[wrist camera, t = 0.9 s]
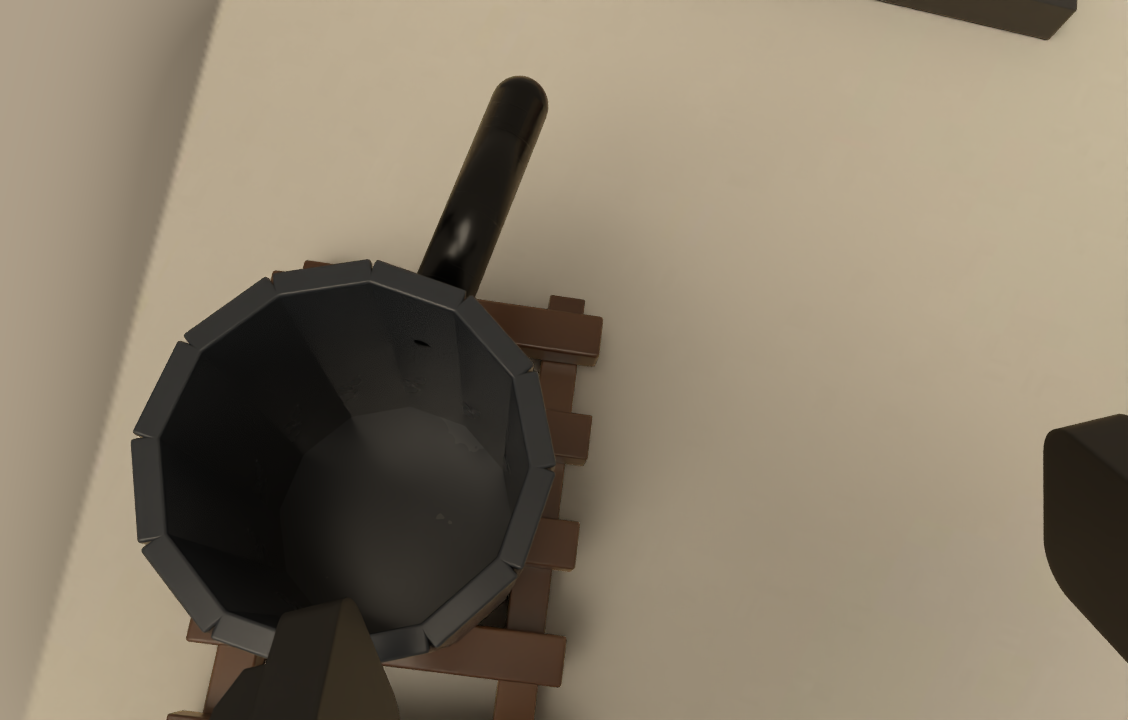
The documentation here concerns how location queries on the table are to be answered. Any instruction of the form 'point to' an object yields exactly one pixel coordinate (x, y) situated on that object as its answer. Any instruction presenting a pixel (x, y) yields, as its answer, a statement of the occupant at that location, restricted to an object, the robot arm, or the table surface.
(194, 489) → the pot
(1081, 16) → the table surface
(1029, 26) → the stove
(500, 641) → the rack
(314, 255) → the table surface
